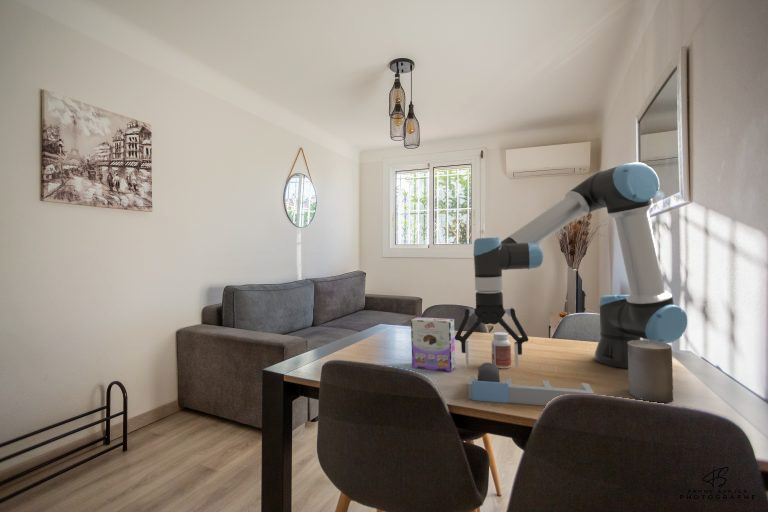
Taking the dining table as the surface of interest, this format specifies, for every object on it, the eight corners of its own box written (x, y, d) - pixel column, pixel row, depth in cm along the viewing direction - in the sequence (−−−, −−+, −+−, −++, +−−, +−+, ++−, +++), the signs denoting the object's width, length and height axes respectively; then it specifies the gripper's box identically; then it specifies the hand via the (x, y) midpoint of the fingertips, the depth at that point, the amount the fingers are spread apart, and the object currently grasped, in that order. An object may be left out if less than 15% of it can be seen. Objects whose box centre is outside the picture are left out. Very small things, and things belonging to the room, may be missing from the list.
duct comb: (588, 398, 99) (587, 379, 98) (595, 410, 91) (595, 389, 91) (470, 389, 107) (469, 371, 107) (468, 399, 100) (468, 380, 100)
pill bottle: (515, 366, 126) (514, 333, 126) (502, 370, 123) (502, 336, 123) (500, 362, 132) (499, 330, 132) (488, 365, 128) (487, 333, 128)
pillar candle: (679, 396, 99) (677, 339, 99) (664, 406, 93) (663, 345, 93) (637, 386, 107) (636, 333, 107) (621, 394, 101) (620, 338, 101)
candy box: (455, 367, 127) (455, 318, 127) (451, 372, 122) (450, 321, 122) (417, 362, 133) (416, 316, 133) (411, 367, 128) (410, 319, 128)
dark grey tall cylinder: (479, 383, 113) (477, 363, 113) (500, 382, 111) (497, 362, 112) (478, 398, 102) (475, 376, 102) (501, 397, 100) (498, 375, 100)
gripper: (533, 289, 109) (536, 362, 109) (446, 290, 116) (449, 359, 116) (536, 292, 102) (539, 371, 102) (443, 293, 109) (446, 367, 109)
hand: (491, 365), depth 109 cm, fingers open, 13 cm apart
